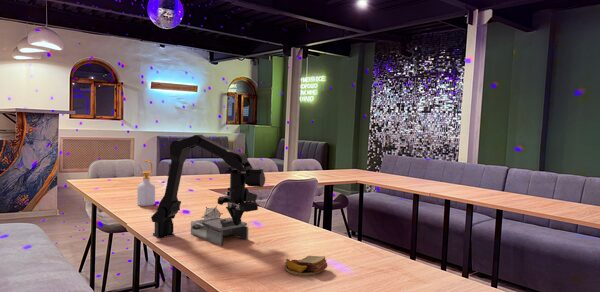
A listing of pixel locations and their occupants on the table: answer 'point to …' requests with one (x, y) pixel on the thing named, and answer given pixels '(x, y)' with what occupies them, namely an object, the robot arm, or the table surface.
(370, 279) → the table surface
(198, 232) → the grey rectangular box
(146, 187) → the soap bottle
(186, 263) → the table surface
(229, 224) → the lid
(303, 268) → the toy sandwich meal
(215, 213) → the game die
